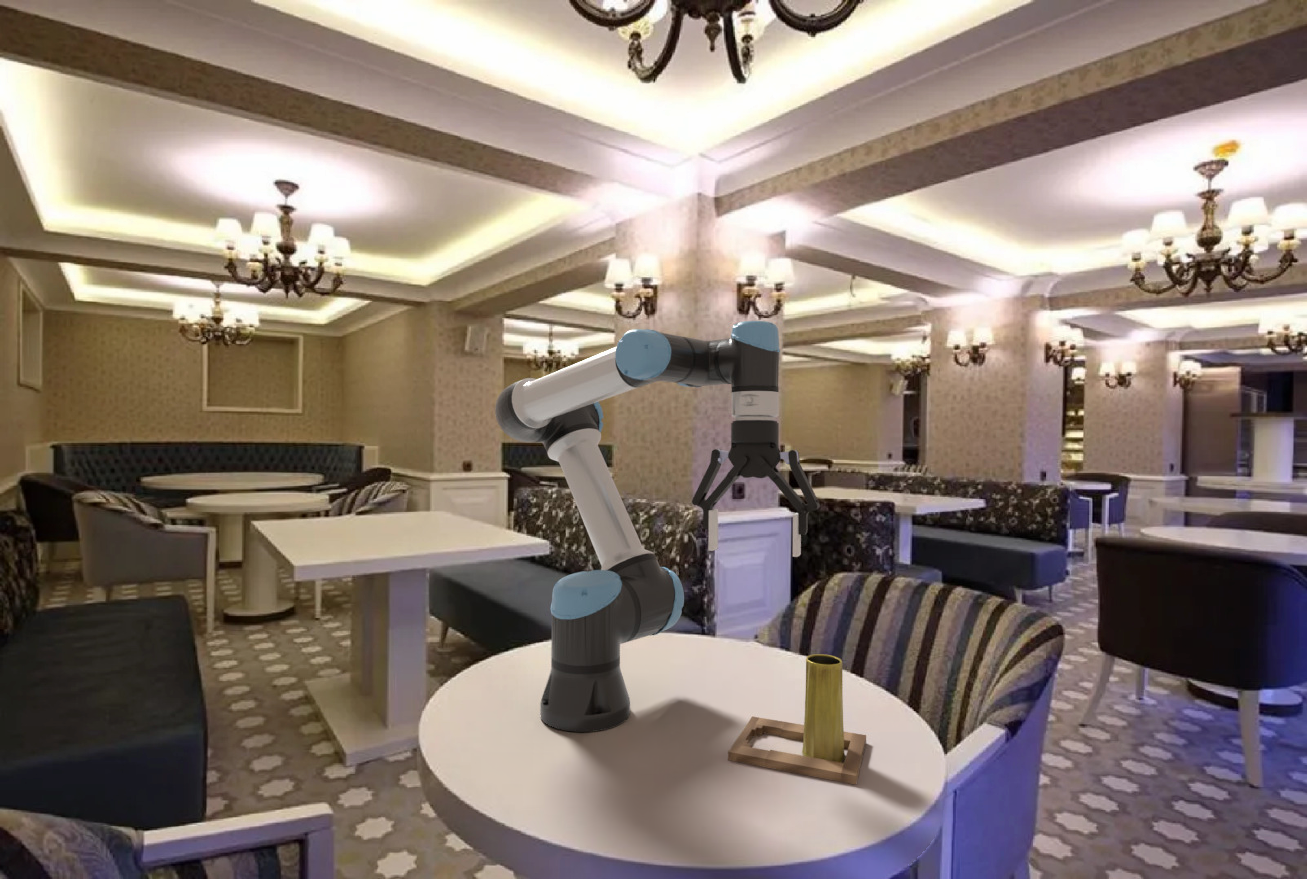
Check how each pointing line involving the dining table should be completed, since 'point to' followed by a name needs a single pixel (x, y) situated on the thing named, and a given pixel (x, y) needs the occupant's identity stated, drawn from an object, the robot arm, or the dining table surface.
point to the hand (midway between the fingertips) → (753, 552)
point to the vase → (824, 709)
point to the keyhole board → (793, 762)
